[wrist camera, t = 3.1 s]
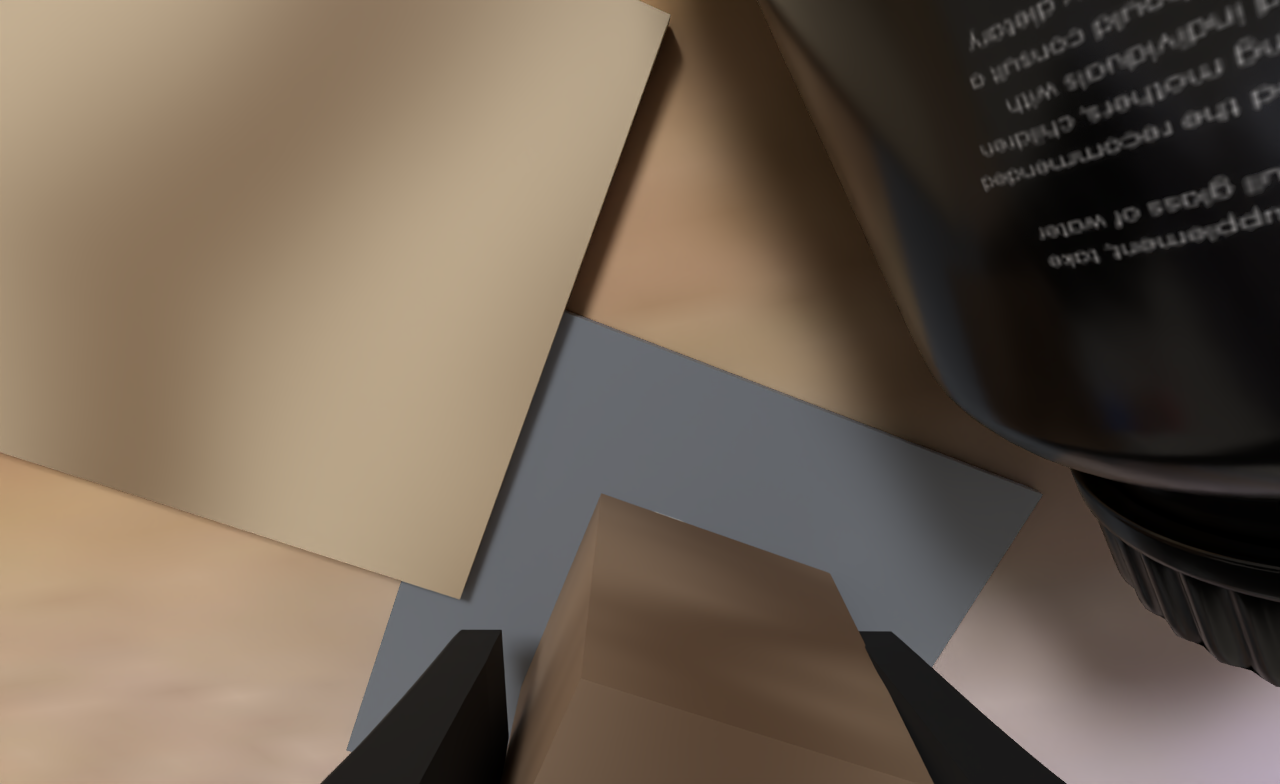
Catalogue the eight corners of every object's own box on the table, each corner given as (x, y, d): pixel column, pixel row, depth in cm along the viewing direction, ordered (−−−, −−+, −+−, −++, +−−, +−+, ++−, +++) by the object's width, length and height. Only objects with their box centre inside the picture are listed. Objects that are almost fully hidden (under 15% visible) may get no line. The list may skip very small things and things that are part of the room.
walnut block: (830, 573, 11) (936, 790, 7) (731, 750, 12) (776, 1020, 8) (601, 492, 10) (581, 677, 6) (521, 686, 11) (463, 941, 8)
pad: (669, 22, 8) (671, 14, 8) (466, 584, 11) (459, 599, 11) (-76, -310, 7) (-114, -336, 7) (-107, 399, 10) (-137, 409, 10)
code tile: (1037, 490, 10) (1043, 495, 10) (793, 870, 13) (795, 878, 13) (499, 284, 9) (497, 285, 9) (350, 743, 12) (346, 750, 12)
